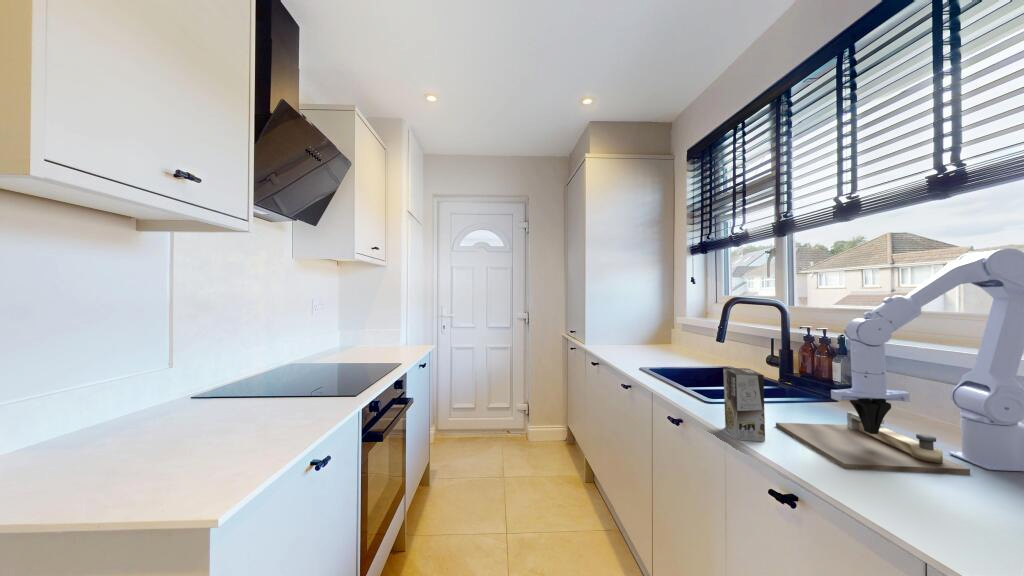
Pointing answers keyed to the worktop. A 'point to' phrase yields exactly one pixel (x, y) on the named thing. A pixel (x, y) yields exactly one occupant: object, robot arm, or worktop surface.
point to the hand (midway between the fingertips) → (871, 432)
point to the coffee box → (744, 404)
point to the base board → (862, 448)
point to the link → (910, 444)
